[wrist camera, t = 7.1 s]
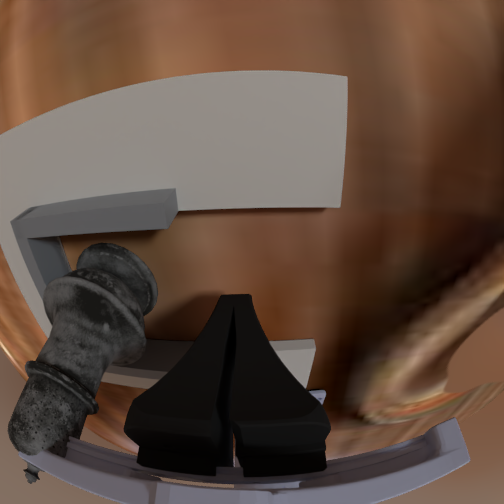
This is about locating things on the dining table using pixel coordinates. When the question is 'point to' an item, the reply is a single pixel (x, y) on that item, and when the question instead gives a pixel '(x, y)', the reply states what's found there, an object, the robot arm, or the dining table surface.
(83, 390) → the black chess piece
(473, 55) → the dining table surface
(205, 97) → the board
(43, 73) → the dining table surface
